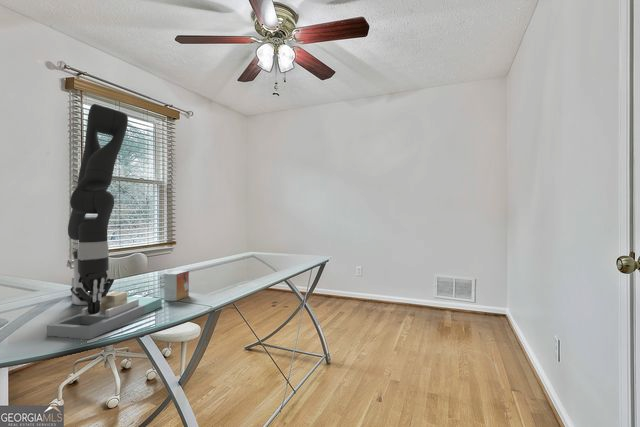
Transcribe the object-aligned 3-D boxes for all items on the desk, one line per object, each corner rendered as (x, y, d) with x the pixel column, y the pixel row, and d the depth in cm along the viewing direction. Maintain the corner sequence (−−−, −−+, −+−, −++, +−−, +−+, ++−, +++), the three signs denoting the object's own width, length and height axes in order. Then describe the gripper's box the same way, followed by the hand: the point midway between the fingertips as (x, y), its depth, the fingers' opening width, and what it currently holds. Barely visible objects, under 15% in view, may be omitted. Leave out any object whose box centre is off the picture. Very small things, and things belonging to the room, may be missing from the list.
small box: (176, 301, 118) (176, 274, 118) (163, 300, 119) (163, 273, 119) (189, 295, 126) (189, 270, 125) (177, 295, 127) (177, 269, 127)
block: (101, 311, 97) (100, 295, 97) (113, 306, 102) (113, 291, 102) (114, 311, 97) (114, 296, 97) (127, 306, 102) (127, 291, 101)
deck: (46, 335, 85) (46, 318, 85) (127, 304, 114) (127, 291, 114) (90, 339, 83) (90, 321, 83) (161, 306, 112) (161, 292, 112)
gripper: (101, 253, 99) (102, 306, 99) (61, 259, 86) (61, 320, 86) (122, 253, 98) (122, 307, 98) (83, 260, 85) (84, 322, 85)
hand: (93, 313), depth 92 cm, fingers closed
